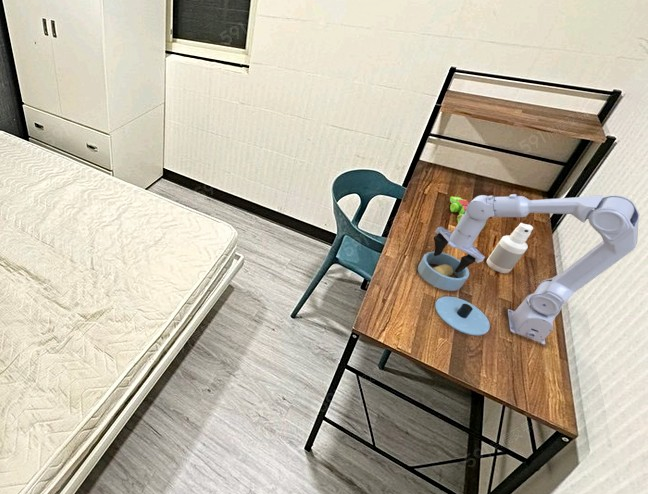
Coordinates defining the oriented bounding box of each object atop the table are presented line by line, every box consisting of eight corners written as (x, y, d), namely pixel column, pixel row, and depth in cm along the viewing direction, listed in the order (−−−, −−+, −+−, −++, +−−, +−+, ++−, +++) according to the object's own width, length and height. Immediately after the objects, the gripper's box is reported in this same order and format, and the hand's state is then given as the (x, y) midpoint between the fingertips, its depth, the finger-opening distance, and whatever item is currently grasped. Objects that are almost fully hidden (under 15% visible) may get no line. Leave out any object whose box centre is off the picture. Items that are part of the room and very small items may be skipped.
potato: (436, 282, 131) (442, 274, 129) (426, 274, 134) (431, 265, 132) (452, 277, 133) (458, 269, 131) (442, 269, 136) (447, 260, 134)
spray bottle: (487, 269, 137) (515, 228, 127) (484, 256, 142) (511, 216, 132) (512, 276, 135) (542, 235, 125) (508, 263, 140) (537, 223, 130)
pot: (461, 297, 127) (469, 286, 124) (415, 280, 132) (422, 269, 129) (461, 272, 136) (468, 261, 133) (418, 257, 141) (425, 246, 138)
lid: (489, 345, 113) (497, 335, 111) (433, 322, 119) (439, 312, 117) (486, 311, 123) (494, 301, 120) (435, 292, 129) (441, 282, 126)
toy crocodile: (444, 201, 169) (450, 189, 166) (461, 204, 168) (468, 192, 165) (463, 232, 153) (471, 219, 150) (483, 235, 152) (491, 222, 149)
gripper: (436, 219, 127) (418, 250, 135) (480, 249, 116) (459, 282, 124) (452, 214, 129) (434, 246, 137) (497, 244, 118) (475, 276, 126)
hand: (447, 262), depth 131 cm, fingers open, 7 cm apart
